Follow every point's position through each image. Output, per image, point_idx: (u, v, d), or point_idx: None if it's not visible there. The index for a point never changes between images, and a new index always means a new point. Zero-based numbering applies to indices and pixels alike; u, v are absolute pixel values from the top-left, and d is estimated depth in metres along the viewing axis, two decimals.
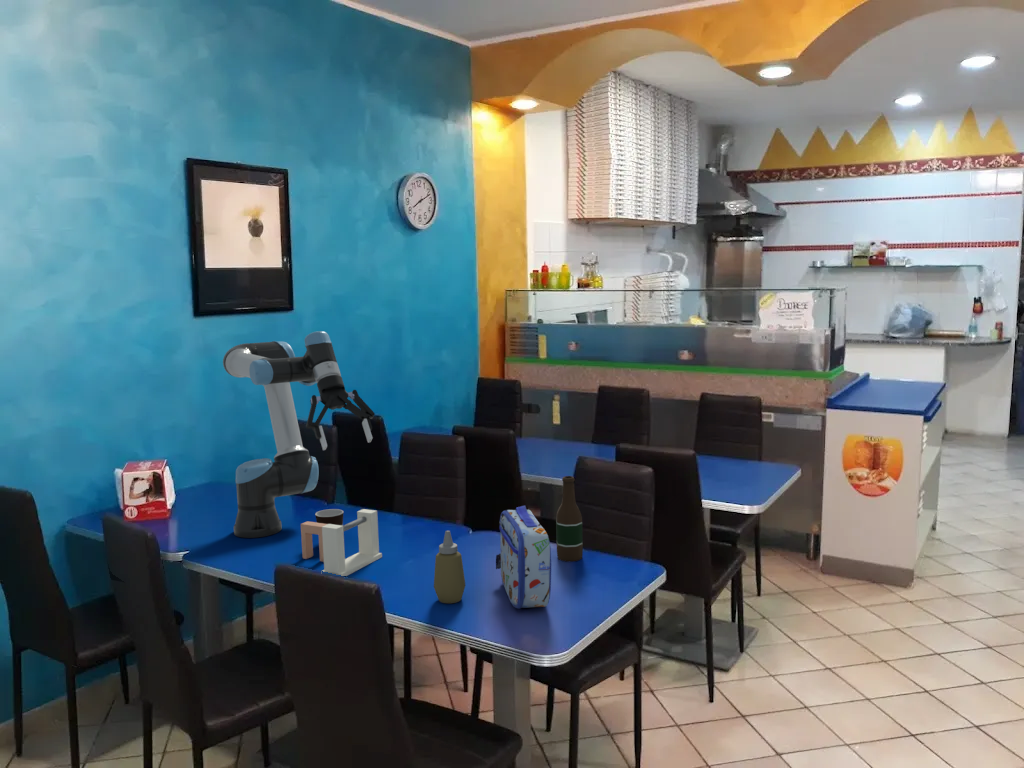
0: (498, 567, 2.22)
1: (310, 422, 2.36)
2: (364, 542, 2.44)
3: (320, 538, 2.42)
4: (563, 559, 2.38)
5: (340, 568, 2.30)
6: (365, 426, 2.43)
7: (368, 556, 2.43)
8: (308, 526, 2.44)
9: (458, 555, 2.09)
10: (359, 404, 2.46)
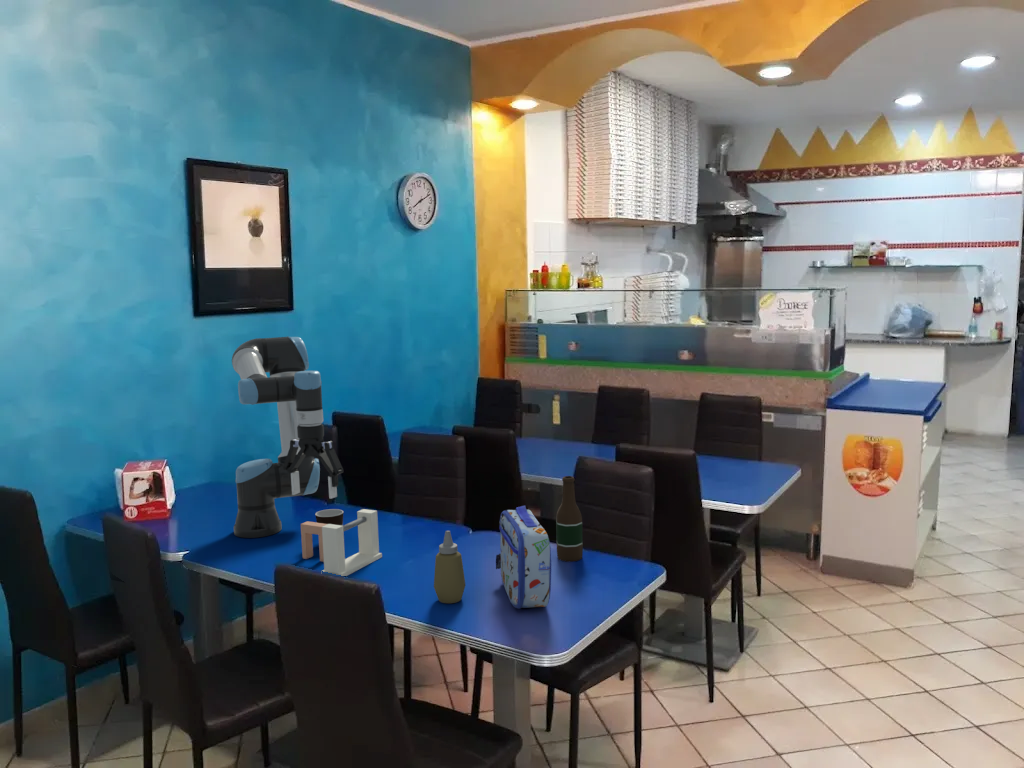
0: (498, 567, 2.22)
1: (284, 467, 2.46)
2: (364, 542, 2.44)
3: (320, 538, 2.42)
4: (563, 559, 2.38)
5: (340, 568, 2.30)
6: None
7: (368, 556, 2.43)
8: (308, 526, 2.44)
9: (458, 555, 2.09)
10: None
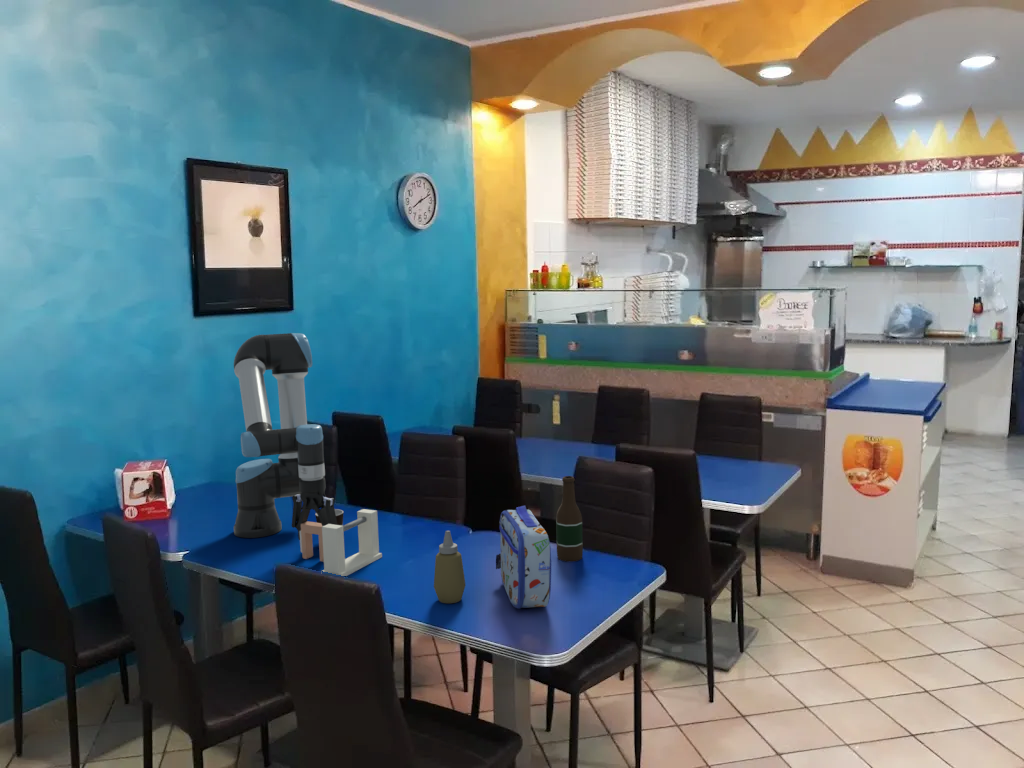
0: (498, 567, 2.22)
1: (293, 525, 2.47)
2: (364, 542, 2.44)
3: (320, 538, 2.42)
4: (563, 559, 2.38)
5: (340, 568, 2.30)
6: None
7: (368, 556, 2.43)
8: (308, 526, 2.44)
9: (458, 555, 2.09)
10: None
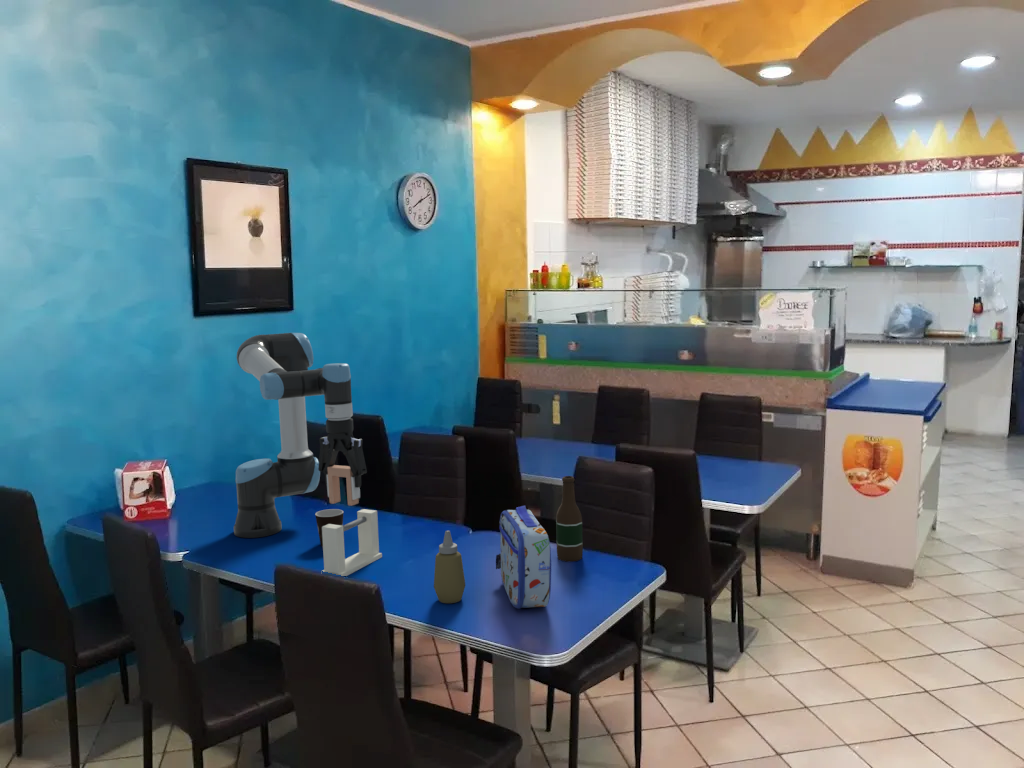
0: (498, 567, 2.22)
1: (320, 468, 2.38)
2: (364, 542, 2.44)
3: (348, 481, 2.33)
4: (563, 559, 2.38)
5: (340, 568, 2.30)
6: None
7: (368, 556, 2.43)
8: (335, 469, 2.35)
9: (458, 555, 2.09)
10: None
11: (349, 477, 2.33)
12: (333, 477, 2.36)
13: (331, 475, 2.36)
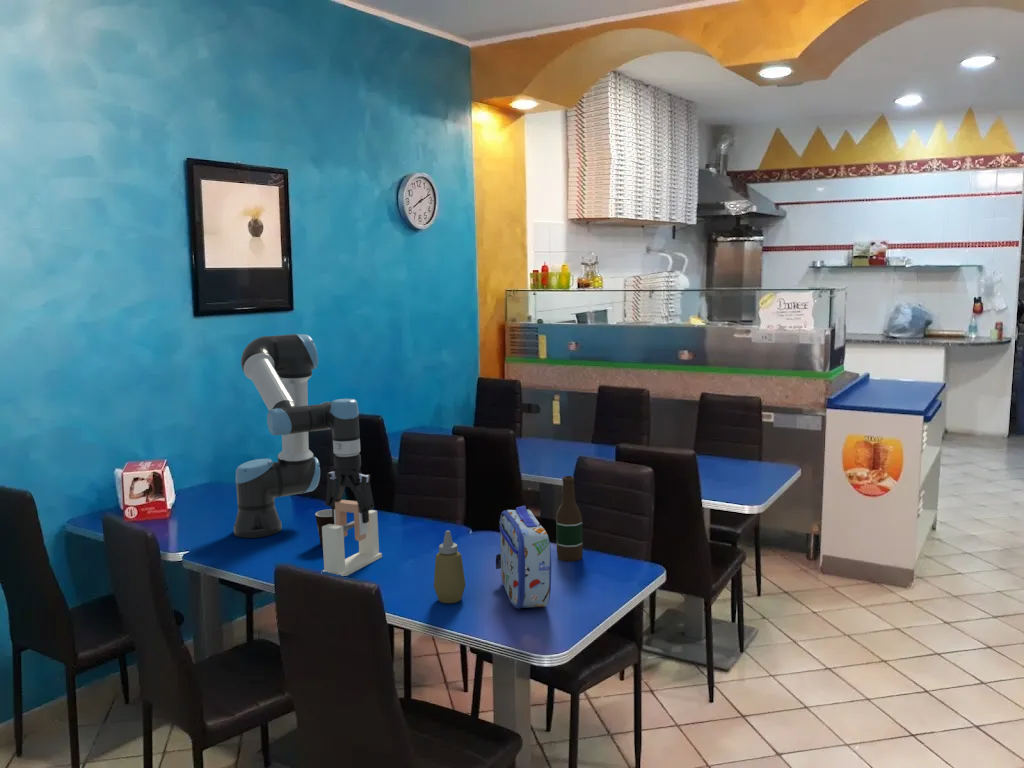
0: (498, 567, 2.22)
1: (327, 503, 2.38)
2: (364, 542, 2.44)
3: (355, 516, 2.34)
4: (563, 559, 2.38)
5: (340, 568, 2.30)
6: None
7: (368, 556, 2.43)
8: (343, 504, 2.35)
9: (458, 555, 2.09)
10: None
11: (357, 513, 2.34)
12: (340, 512, 2.37)
13: (338, 510, 2.36)
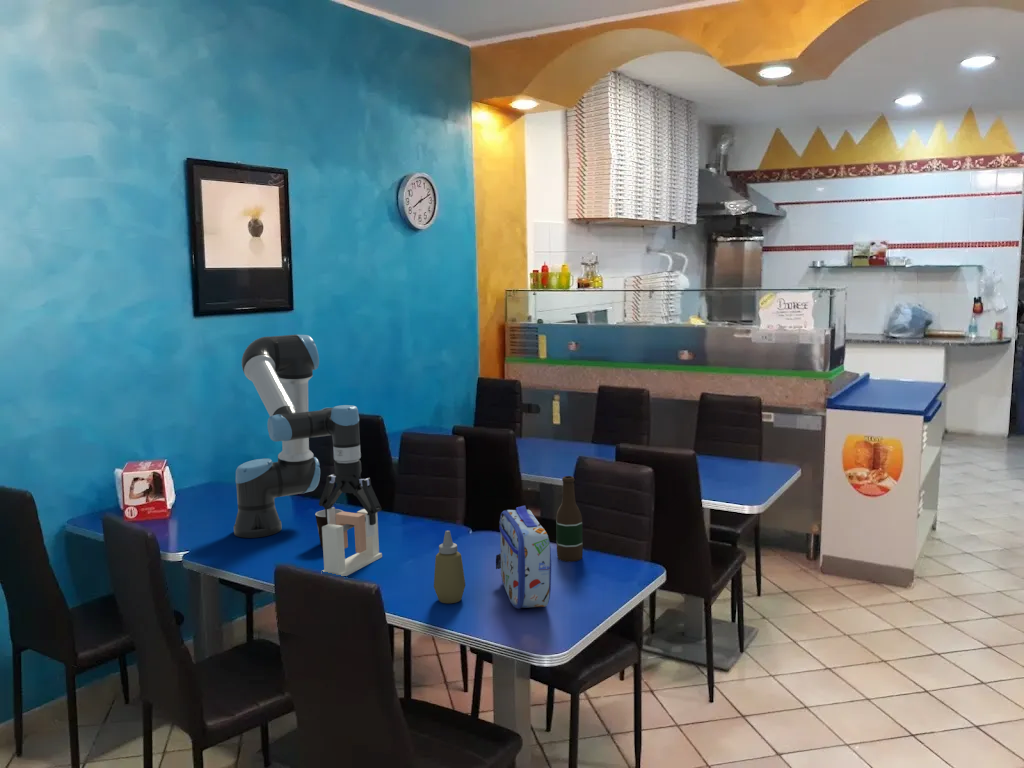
0: (498, 567, 2.22)
1: (320, 503, 2.39)
2: None
3: (356, 528, 2.34)
4: (563, 559, 2.38)
5: (340, 568, 2.30)
6: None
7: (368, 556, 2.43)
8: (343, 516, 2.36)
9: (458, 555, 2.09)
10: None
11: (357, 525, 2.34)
12: (341, 524, 2.37)
13: (339, 522, 2.37)
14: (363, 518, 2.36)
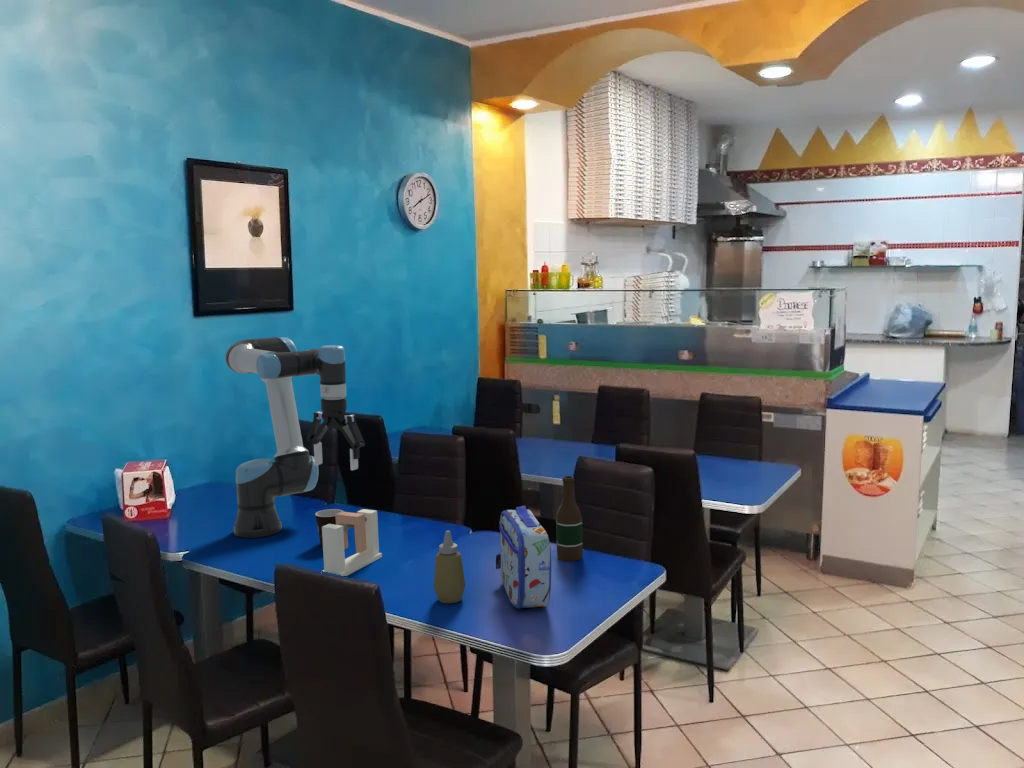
0: (498, 567, 2.22)
1: (308, 438, 2.52)
2: None
3: (356, 528, 2.34)
4: (563, 559, 2.38)
5: (340, 568, 2.30)
6: None
7: (368, 556, 2.43)
8: (343, 516, 2.36)
9: (458, 555, 2.09)
10: None
11: (357, 525, 2.34)
12: (341, 524, 2.37)
13: (339, 522, 2.37)
14: (363, 518, 2.36)
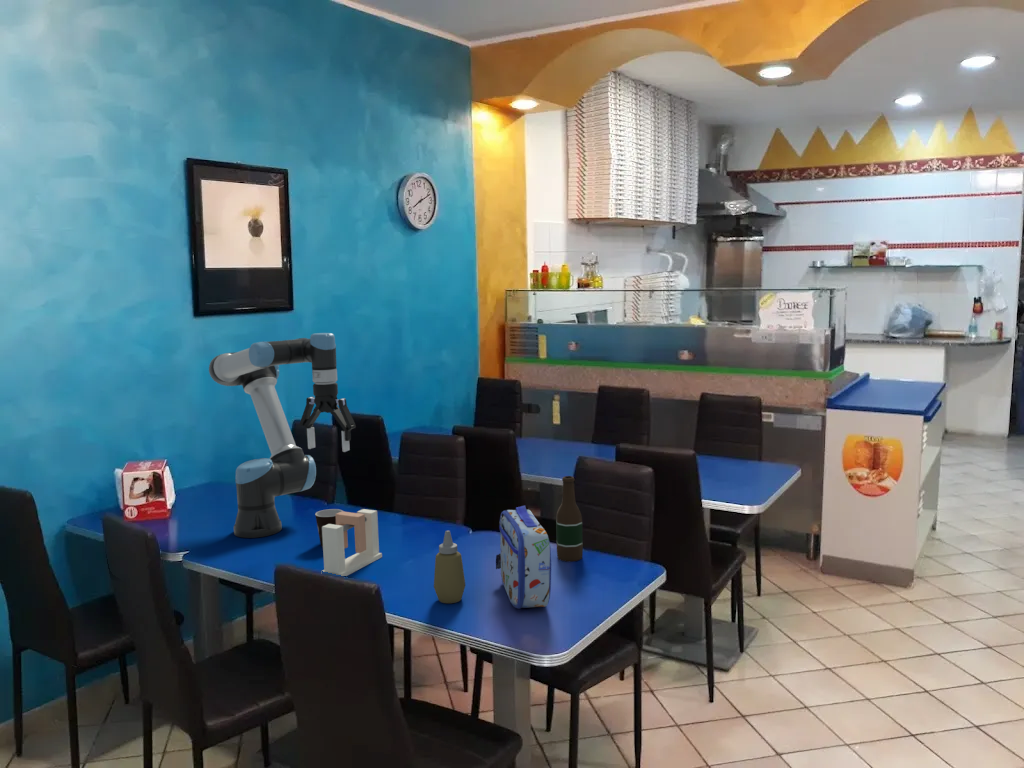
0: (498, 567, 2.22)
1: (301, 423, 2.64)
2: None
3: (356, 528, 2.34)
4: (563, 559, 2.38)
5: (340, 568, 2.30)
6: None
7: (368, 556, 2.43)
8: (343, 516, 2.36)
9: (458, 555, 2.09)
10: None
11: (357, 525, 2.34)
12: (341, 524, 2.37)
13: (339, 522, 2.37)
14: (363, 518, 2.36)
